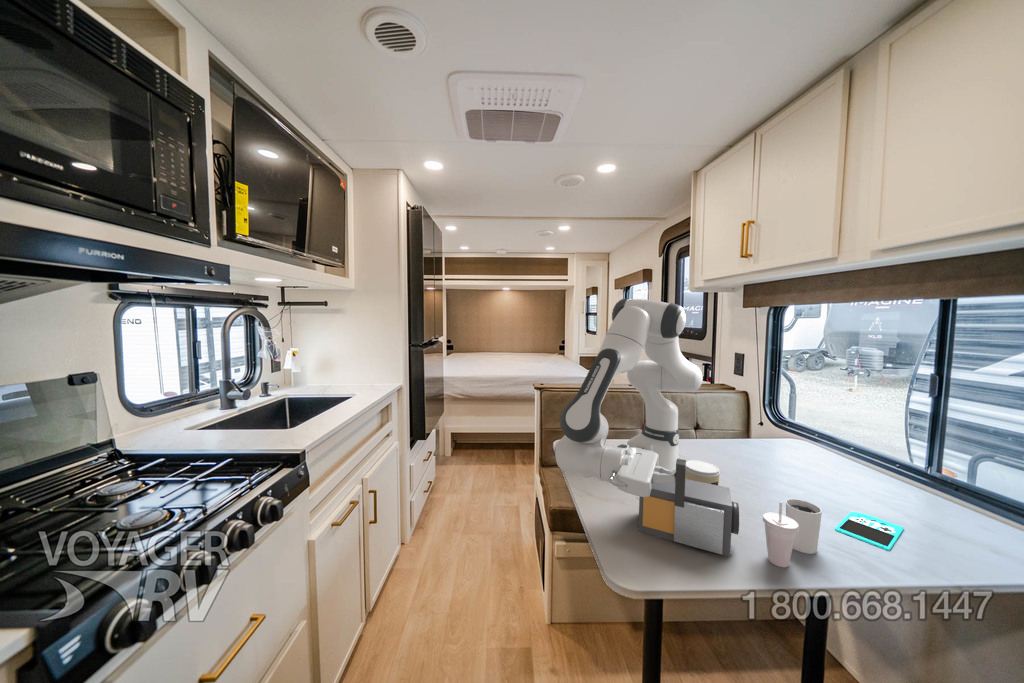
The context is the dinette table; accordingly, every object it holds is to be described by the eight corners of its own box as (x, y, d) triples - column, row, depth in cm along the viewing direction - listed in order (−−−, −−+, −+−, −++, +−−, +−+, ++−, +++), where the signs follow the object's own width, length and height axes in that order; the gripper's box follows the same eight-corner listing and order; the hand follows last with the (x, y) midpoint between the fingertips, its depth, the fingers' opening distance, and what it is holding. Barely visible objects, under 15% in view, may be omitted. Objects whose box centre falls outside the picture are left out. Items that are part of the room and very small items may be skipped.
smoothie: (758, 561, 78) (761, 501, 77) (763, 548, 82) (766, 491, 82) (794, 576, 73) (798, 512, 73) (798, 561, 78) (801, 501, 77)
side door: (673, 546, 81) (675, 463, 80) (674, 538, 85) (676, 458, 83) (722, 560, 77) (726, 473, 75) (721, 551, 80) (725, 467, 79)
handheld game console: (905, 532, 90) (905, 526, 90) (890, 554, 81) (890, 549, 81) (852, 513, 98) (852, 509, 98) (833, 532, 90) (834, 527, 90)
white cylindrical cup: (786, 533, 88) (788, 495, 87) (821, 546, 83) (823, 506, 83) (781, 545, 84) (783, 505, 83) (817, 559, 79) (820, 517, 78)
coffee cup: (720, 518, 95) (722, 475, 94) (682, 510, 99) (684, 469, 98) (716, 502, 103) (718, 462, 103) (681, 495, 107) (683, 457, 107)
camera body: (638, 532, 89) (639, 486, 88) (644, 512, 98) (645, 471, 97) (738, 560, 78) (740, 509, 78) (734, 535, 87) (736, 489, 87)
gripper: (606, 469, 79) (673, 483, 73) (623, 441, 97) (678, 450, 91) (606, 495, 80) (672, 512, 73) (623, 463, 98) (677, 474, 91)
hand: (675, 477), depth 82 cm, fingers closed, pressing on side door
